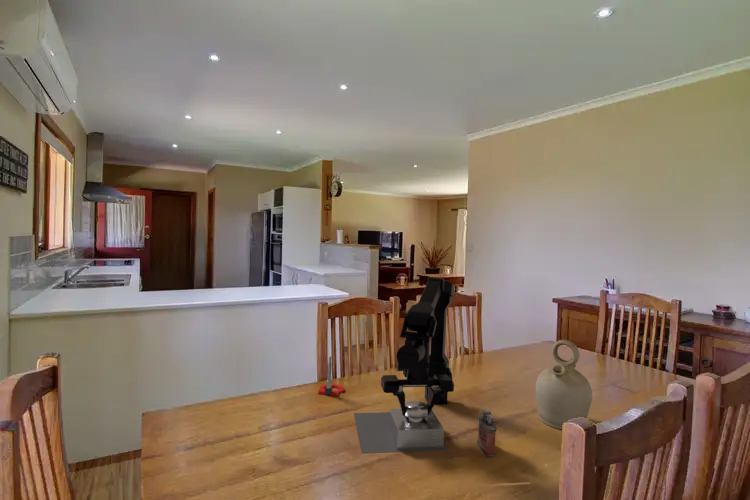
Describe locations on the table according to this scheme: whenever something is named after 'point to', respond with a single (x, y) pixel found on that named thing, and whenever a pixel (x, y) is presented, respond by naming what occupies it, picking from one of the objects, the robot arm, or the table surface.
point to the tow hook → (328, 387)
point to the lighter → (486, 433)
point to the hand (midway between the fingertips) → (415, 414)
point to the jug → (562, 390)
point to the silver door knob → (416, 411)
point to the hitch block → (415, 431)
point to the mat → (379, 434)
